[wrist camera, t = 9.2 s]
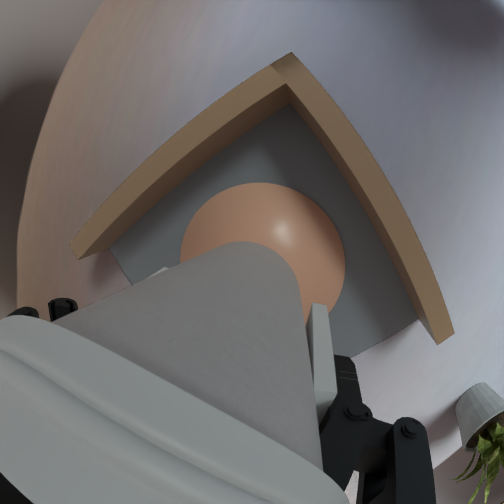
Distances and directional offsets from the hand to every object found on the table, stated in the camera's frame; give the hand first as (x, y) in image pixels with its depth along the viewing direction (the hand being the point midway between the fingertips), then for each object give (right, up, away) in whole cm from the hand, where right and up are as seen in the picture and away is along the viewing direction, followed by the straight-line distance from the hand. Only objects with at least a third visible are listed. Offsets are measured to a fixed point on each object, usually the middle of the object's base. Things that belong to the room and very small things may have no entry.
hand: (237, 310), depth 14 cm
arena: (+1, +2, +8) cm, 8 cm away
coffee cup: (0, +1, +2) cm, 2 cm away
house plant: (+28, -14, +7) cm, 32 cm away
